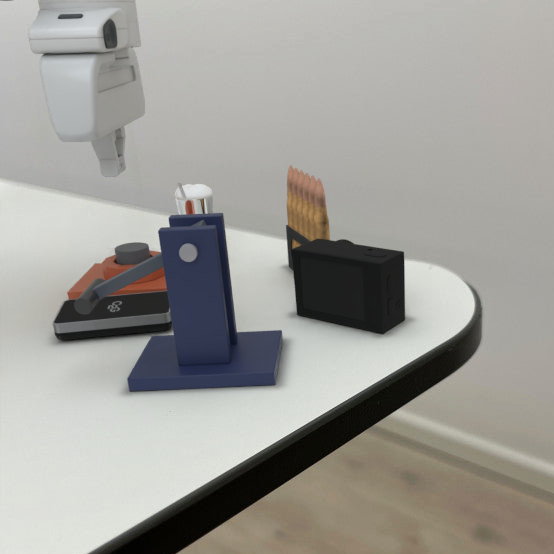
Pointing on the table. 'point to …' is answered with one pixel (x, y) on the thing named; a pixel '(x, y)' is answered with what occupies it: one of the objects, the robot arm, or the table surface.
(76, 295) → the button block
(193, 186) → the milkshake
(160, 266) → the switch lever
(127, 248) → the button
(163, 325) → the external hard drive
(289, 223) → the ammunition clip
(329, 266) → the digital camera
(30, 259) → the table surface
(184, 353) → the switch bracket
